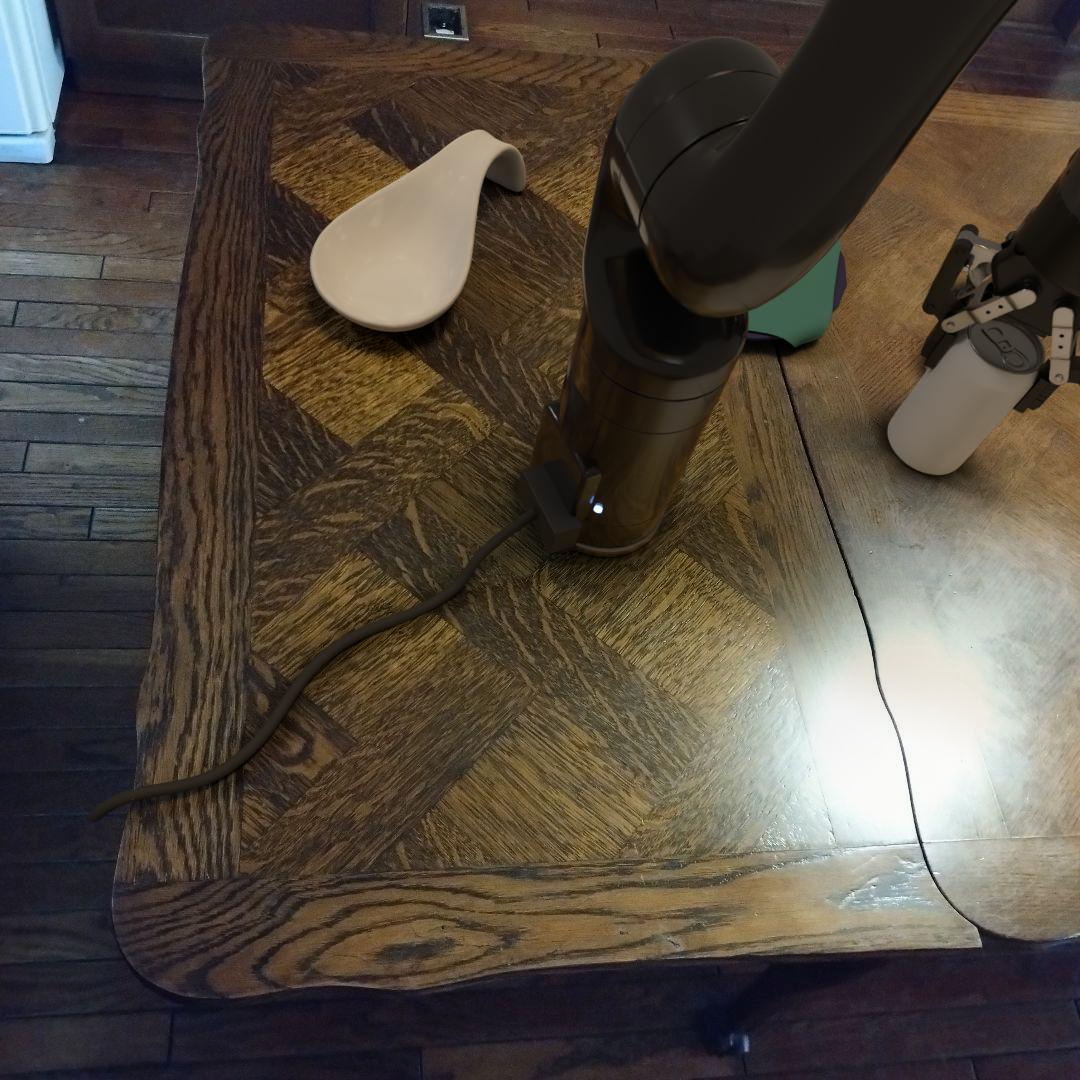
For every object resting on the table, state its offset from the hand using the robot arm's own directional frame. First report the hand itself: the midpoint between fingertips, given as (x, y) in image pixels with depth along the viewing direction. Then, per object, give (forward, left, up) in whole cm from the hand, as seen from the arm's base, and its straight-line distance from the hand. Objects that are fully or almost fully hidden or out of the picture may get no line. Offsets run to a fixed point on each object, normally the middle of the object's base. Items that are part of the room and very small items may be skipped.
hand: (975, 381), depth 72 cm
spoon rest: (-30, +30, -8) cm, 43 cm away
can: (0, 0, -8) cm, 8 cm away
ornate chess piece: (+14, +11, -8) cm, 20 cm away
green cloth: (-3, +26, -8) cm, 27 cm away
